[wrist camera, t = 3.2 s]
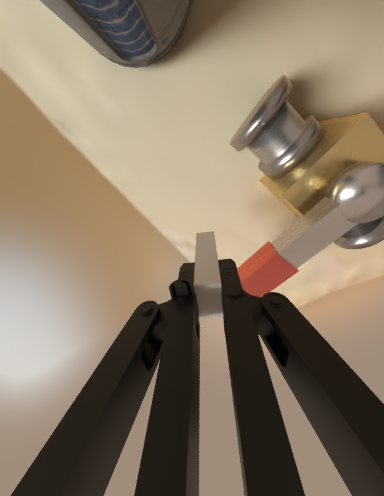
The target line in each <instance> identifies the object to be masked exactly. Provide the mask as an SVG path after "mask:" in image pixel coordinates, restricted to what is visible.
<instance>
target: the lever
mask: <svg viewBox="0 0 384 496" xmlns="http://www.w3.org/2000/svg"><path fill="white" fill-rule="evenodd" d="M382 216H384V163H380V162H370V161H362V162H358V163H355V164H352V165H350V166H348V167H346V168H345V169H343V170H342V171H341V172H339V173H338V174H337V175H336V176H335V177H334V178H333V180H332V181H331V182H330V184H329V186H328V188H327V190H326V194H325V197H324V198H323V199H322V200H321V201H320V202H319V203H317V204H316V205H315V206H314V207H313V208H312V209H310V210H309V211H308V212H307V213H306V214H305V215H303V216H302V217H301V218H300V219H299V220H298V221H296V222H295V223H294V224H293V225H292V226H291V227H290V228H288V229H287V230H286V231H285V232H284V233H283V234H281V235H280V236H279V237H278V238H277V239H276V240H274V241H273V242H272V243H270V242H269V241H268V242H267V243H266V244H265V245H264V246H263V247H261V248H260V249H259V250H258V251H257V252H256V253H255V254H253V255H252V256H251V257H250V258H249V259H248V260H247V261H245V262H244V263H243V264H242V265H241V266H240V267H238V268H237V271H238V274H239V278H240V281H241V285H242V288H243V290H244V291H245V292H247V293H248V294H250V295H253V296H257V297H263V295H264V294H266V293H269V292H270V291H272V290H273V289H274V288H276V287H277V286H279V285H280V284H281V283H283V282H284V281H286V280H287V279H288V278H290V277H291V276H293V275H294V274H295V273H297V272H298V269H297V268H298V267H299V266H301V265H302V264H303V263H305V262H306V261H307V260H309V259H310V258H312V257H313V256H314V255H316V254H317V253H318V252H320V251H321V250H323V249H324V248H325V247H327V246H328V245H329V244H331V243H332V242H334V241H335V240H336V239H338V238H339V237H340V236H342V235H343V234H345V233H346V232H347V231H349V230H350V229H352V228H353V227H354V226H356V225H357V224H358V223H367V222H371V221H374V220H376V219H378V218H380V217H382Z"/></svg>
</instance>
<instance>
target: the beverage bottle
mask: <svg viewBox="0 0 384 496" xmlns="http://www.w3.org/2000/svg"><path fill="white" fill-rule="evenodd" d="M40 1H41V2H42V3H43V4H45V5H46V6H47V7H48V8H49V9H50V10H51V11H53V12H54V13H55V14H56V15H57V16H58V17H59V18H60V19H62V20H63V21H64V22H65V23H66V24H67V25H68V26H70V27H71V28H72V29H73V30H74V31H75V32H76V33H77V34H79V35H80V36H81V37H82V38H83V39H84V40H85V41H87V42H88V43H89V44H90V45H91V46H92V47H93V48H94V49H96V50H97V51H98V52H99V53H100V54H101V55H103V56H104V57H106V58H107V59H109V60H110V61H112V62H114V63H117V64H119V65H122V66H125V67H133V68H137V67H144V66H148V65H150V64H152V63H155V62H157V61H158V60H159V59H161V58H162V57H163V56H164V55H166V54H167V53H168V52H169V50H170V49H171V48H172V47H173V45H174V44H175V43H176V41H177V39H178V37H179V36H180V34H181V32H182V30H183V28H184V25H185V22H186V19H187V16H188V13H189V11H190V5H191V0H40Z"/></svg>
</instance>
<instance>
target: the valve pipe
mask: <svg viewBox="0 0 384 496" xmlns="http://www.w3.org/2000/svg"><path fill="white" fill-rule="evenodd" d="M292 88H293V85H292V84H291V82H290V81H289V80H288V79H287V77H286V76H285V75H283V76H281V77H280V78H279V79H278V80H277V81H276V82H275V83H274V84H273V85H272V86H271V88H270V89H269V90H268V91H267V92H266V93H265V95H264V96H263V97H262V98H261V100H260V101H259V102H258V104H257V105H256V106H255V108H254V109H253V111H252V112H251V113H250V115H249V116H248V117H247V119H246V120H245V121H244V123H243V124H242V125H241V127H240V128H239V129H238V131H237V132H236V133H235V135H234V136H233V138H232V140H231V142H230V145H231V146H233V147H234V148H235V149H236V150H237V151H241V150H242V149H243V148H245V147H247V148H248V149H249V150H250V151H251V152H252V153H253V154H254V155H255V156H256V157H258V158H259V159H260V163H259V169H260V170H261V171H262V172H263V173H264V174H265V175H264V176H263V178H262V179H261V180H260V182H261V183H262V184H263V185H264V186H265V187H267V188H268V189H269V190H270V191H271V192H272V193H273V194H274V195H275V196H276V197H277V198H278V199H280V200H281V201H282V202H283V203H284V204H285V205H286V206H287V207H288V208H289V209H290V210H291V211H293V212H294V213H295V214H296V215H297V216H298V217H299V218H301V217H302V216H303V215H305V214H306V213H307V212H308V211H309V210H310V209H312V208H313V207H314V206H315V205H316V204H317V203H319V202H320V201H321V200H322V199H323V198H324V197H325V194H326V190H327V188H328V186H329V184H330V182H331V181H332V180H333V178H334V177H335V176H336V175H337V174H338V173H339V172H341V171H342V170H343V169H345V168H346V167H348V166H350V165H352V164H355V163H358V162H362V161H370V162H380V163H384V134H383V132H382V131H381V130H380V128H379V127H378V125H377V124H376V122H375V121H374V120H373V118H372V117H371V115H370V114H369V113H368V112H365V113H360V114H355V115H349V116H344V117H339V118H334V119H328V120H323V121H317V120H316V118H315V117H314V116H313V115H312V114H308V115H305V116H303V117H301V116H300V115H299V114H298V112H297V111H296V110H295V109H294V108H293V106H292V105H291V104H290V103H289V102H288V101H287V97H288V96H289V94H290V92H291V90H292ZM382 240H384V216H382V217H380V218H378V219H376V220H374V221H371V222H367V223H358V224H357V225H356V226H354V227H353V228H352V229H350V230H349V231H347V232H346V233H345V234H343V235H342V236H340V237H339V238H338V239H336V240H335V241H334V243H335V244H336V245H338V246H339V247H342V248H345V249H361V248H366V247H369V246H372V245H375V244H377V243H379V242H381V241H382Z"/></svg>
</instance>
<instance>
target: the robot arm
mask: <svg viewBox="0 0 384 496" xmlns="http://www.w3.org/2000/svg"><path fill="white" fill-rule="evenodd" d="M169 290H170V294H171V297H172V299H171V300H169V301H167V302H165V303H162V304H159V305H158V304H157V303H156V302H154V301H146V302H143V303H142V304H140V305H139V306H138V307H137V308H136V310H135V311H134V313H133V314H132V316H131V317H130V319H129V320H128V322H127V323H126V325H125V326H124V328H123V329H122V330H121V332H120V334H119V335H118V337H117V338H116V339H115V341H114V343H113V344H112V345H111V347H110V348H109V350H108V351H107V353H106V354H105V356H104V357H103V359H102V360H101V362H100V363H99V365H98V366H97V368H96V369H95V371H94V372H93V374H92V375H91V377H90V378H89V380H88V381H87V383H86V384H85V386H84V387H83V389H82V390H81V392H80V393H79V395H78V396H77V398H76V399H75V401H74V402H73V404H72V405H71V406H70V408H69V410H68V411H67V412H66V414H65V415H64V417H63V418H62V420H61V422H60V423H59V424H58V426H57V427H56V429H55V430H54V432H53V433H52V435H51V436H50V438H49V439H48V441H47V442H46V444H45V445H44V447H43V448H42V450H41V451H40V453H39V454H38V456H37V457H36V459H35V460H34V462H33V463H32V465H31V466H30V468H29V469H28V471H27V472H26V474H25V475H24V477H23V478H22V480H21V481H20V483H19V484H18V485H17V487H16V488H15V490H14V491H13V493H12V495H11V496H103V495H104V493H105V491H106V488H107V486H108V483H109V481H110V479H111V476H112V474H113V471H114V469H115V466H116V464H117V462H118V459H119V457H120V454H121V452H122V450H123V447H124V445H125V442H126V440H127V437H128V435H129V433H130V430H131V428H132V425H133V423H134V421H135V418H136V416H137V413H138V411H139V408H140V406H141V403H142V401H143V399H144V396H145V394H146V392H147V389H148V386H149V384H150V382H151V379H152V377H153V375H154V372H155V370H156V367H157V365H158V362H159V360H160V363H159V369H158V373H157V379H156V384H155V389H154V394H153V400H152V405H151V410H150V416H149V421H148V427H147V432H146V437H145V442H144V448H143V452H142V458H141V463H140V468H139V474H138V479H137V484H136V489H135V494H134V496H199V387H200V386H199V384H200V383H199V382H200V381H199V379H200V377H199V376H200V324H199V318H209V317H223V319H224V331H225V337H226V345H227V353H228V362H229V370H230V379H231V387H232V395H233V404H234V412H235V420H236V428H237V437H238V445H239V454H240V462H241V469H242V478H243V487H244V495H245V496H305V494H304V490H303V487H302V483H301V480H300V477H299V473H298V470H297V466H296V463H295V460H294V456H293V453H292V449H291V446H290V442H289V439H288V436H287V432H286V429H285V426H284V422H283V418H282V415H281V411H280V408H279V405H278V401H277V398H276V394H275V391H274V388H273V384H272V381H271V378H270V374H269V370H268V367H267V364H266V360H265V357H264V354H263V350H262V346H261V343H260V340H259V336H258V335H260V337H261V338H262V340H263V342H264V344H265V345H266V347H267V349H268V351H269V352H270V354H271V356H272V357H273V359H274V361H275V363H276V364H277V366H278V368H279V369H280V371H281V373H282V375H283V377H284V378H285V380H286V382H287V383H288V385H289V387H290V389H291V390H292V392H293V394H294V396H295V397H296V399H297V401H298V403H299V404H300V406H301V408H302V410H303V411H304V413H305V415H306V417H307V418H308V420H309V422H310V423H311V425H312V427H313V429H314V430H315V432H316V434H317V436H318V437H319V439H320V441H321V443H322V444H323V446H324V448H325V450H326V451H327V453H328V455H329V456H330V458H331V460H332V461H333V463H334V465H335V467H336V469H337V470H338V472H339V474H340V475H341V477H342V479H343V481H344V483H345V484H346V486H347V488H348V489H349V491H350V493H351V494H352V496H384V404H383V403H382V402H381V401H380V400H379V398H378V397H377V396H376V395H375V394H374V393H373V392H372V391H371V390H370V389H369V388H368V386H367V385H366V384H365V383H364V382H363V381H362V380H361V379H360V378H359V377H358V375H357V374H356V373H355V372H354V371H353V370H352V369H351V368H350V367H349V365H347V363H346V362H345V361H344V360H343V359H342V358H341V357H340V356H339V354H338V353H337V352H336V351H335V350H334V349H333V348H332V347H331V346H330V345H329V343H328V342H327V341H326V340H325V339H324V338H323V337H322V336H321V335H320V334H319V333H318V331H317V330H316V329H315V328H314V327H313V326H312V325H311V324H310V323H309V321H308V320H307V319H306V318H305V317H304V316H303V315H302V314H301V313H300V312H299V310H298V309H297V308H296V307H295V306H294V305H293V304H292V303H291V302H290V301H289V299H288V298H286V297H285V296H284V295H282V294H280V293H276V292H269V293H266V294H264V295H263V297H257V296H253V295H250V294H248V293H247V292H245V291H244V290H243V288H242V285H241V281H240V278H239V274H238V271H237V267H236V264H235V262H234V261H233V260H232V259H223V260H218V257H217V250H216V243H215V236H214V231H213V232H204V233H197V236H196V254H195V262H194V263H184V264H183V265H182V266H181V268H180V272H179V278H178V280H176V281H174V282H173V283H171V284H170V286H169Z"/></svg>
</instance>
